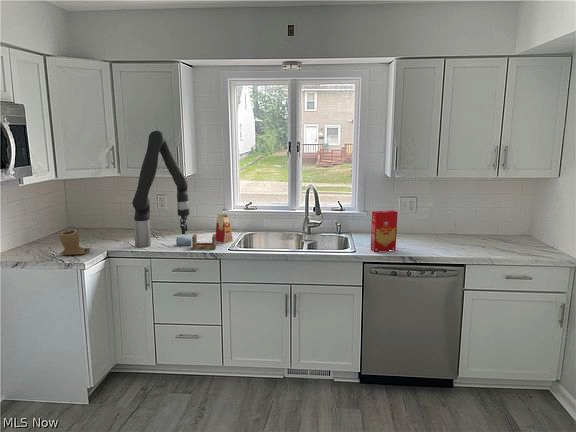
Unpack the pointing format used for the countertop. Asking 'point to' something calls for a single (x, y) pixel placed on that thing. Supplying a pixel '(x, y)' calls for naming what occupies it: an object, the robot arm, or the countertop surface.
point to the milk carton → (223, 229)
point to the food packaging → (383, 230)
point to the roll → (183, 241)
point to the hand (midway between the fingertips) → (184, 232)
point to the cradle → (203, 244)
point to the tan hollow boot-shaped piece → (72, 243)
